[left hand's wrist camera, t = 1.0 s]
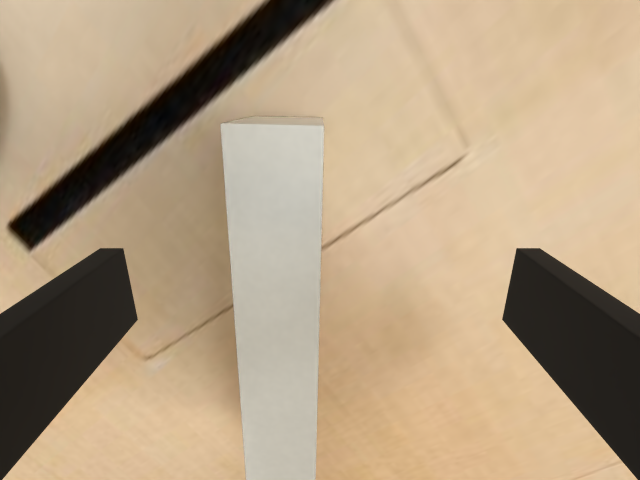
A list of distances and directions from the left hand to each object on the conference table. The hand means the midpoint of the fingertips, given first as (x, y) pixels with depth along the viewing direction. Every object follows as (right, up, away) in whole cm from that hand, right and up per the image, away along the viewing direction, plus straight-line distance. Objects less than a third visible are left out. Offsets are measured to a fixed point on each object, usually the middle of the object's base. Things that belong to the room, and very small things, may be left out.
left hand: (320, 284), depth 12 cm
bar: (-2, -2, +17) cm, 18 cm away
